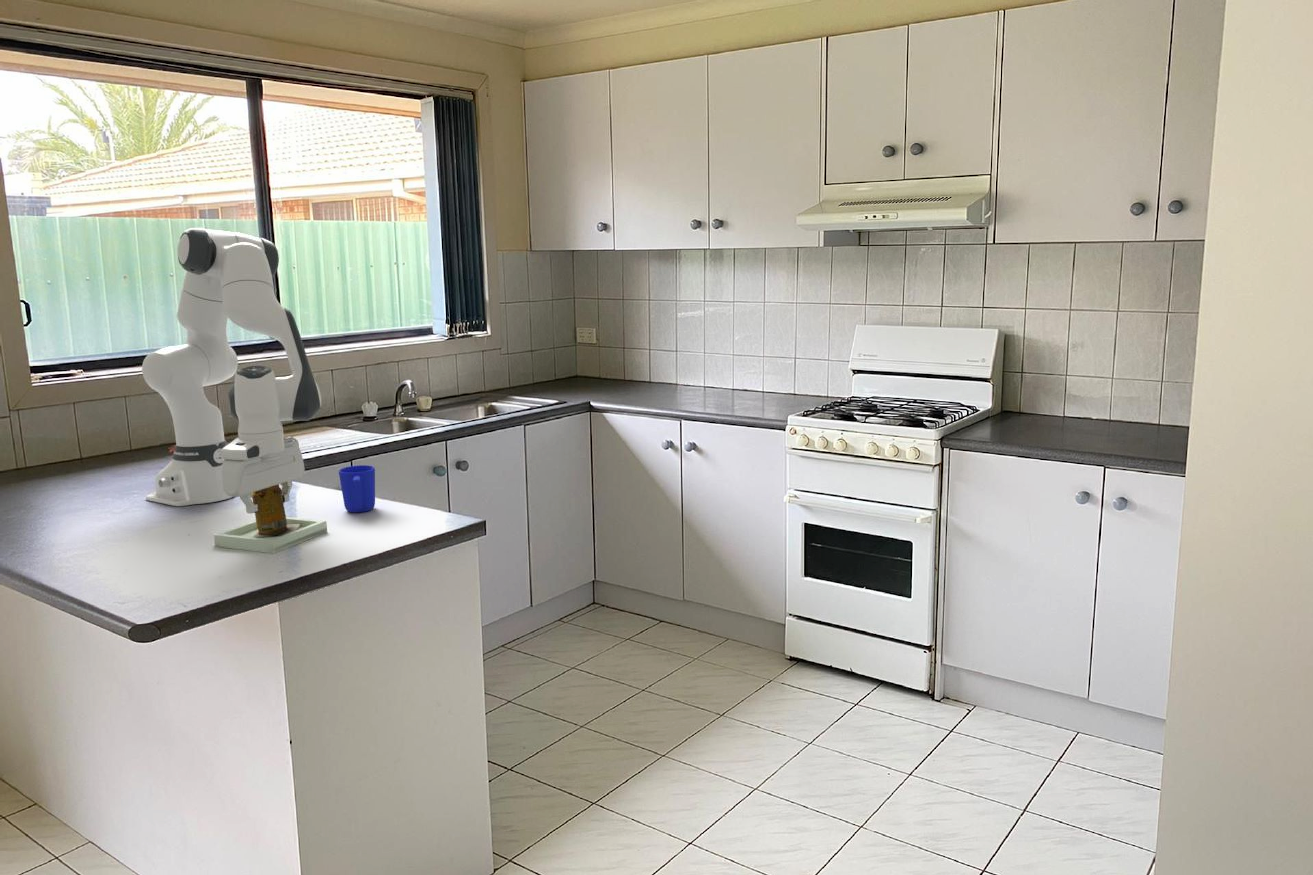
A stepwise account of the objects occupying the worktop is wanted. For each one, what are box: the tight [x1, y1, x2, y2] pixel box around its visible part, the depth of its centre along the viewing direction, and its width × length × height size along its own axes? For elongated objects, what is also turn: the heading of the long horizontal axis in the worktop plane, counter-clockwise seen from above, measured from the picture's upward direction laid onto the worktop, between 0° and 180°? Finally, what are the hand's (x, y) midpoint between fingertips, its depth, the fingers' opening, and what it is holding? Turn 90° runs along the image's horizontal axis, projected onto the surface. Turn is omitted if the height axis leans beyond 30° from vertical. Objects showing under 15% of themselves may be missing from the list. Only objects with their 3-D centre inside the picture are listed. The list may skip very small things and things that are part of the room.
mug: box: [338, 464, 376, 514], centre depth 233 cm, size 8×12×10 cm
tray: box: [213, 516, 328, 554], centre depth 214 cm, size 16×16×2 cm
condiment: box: [251, 484, 301, 537], centre depth 214 cm, size 7×8×12 cm
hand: (268, 507), depth 213 cm, fingers open, 8 cm apart
